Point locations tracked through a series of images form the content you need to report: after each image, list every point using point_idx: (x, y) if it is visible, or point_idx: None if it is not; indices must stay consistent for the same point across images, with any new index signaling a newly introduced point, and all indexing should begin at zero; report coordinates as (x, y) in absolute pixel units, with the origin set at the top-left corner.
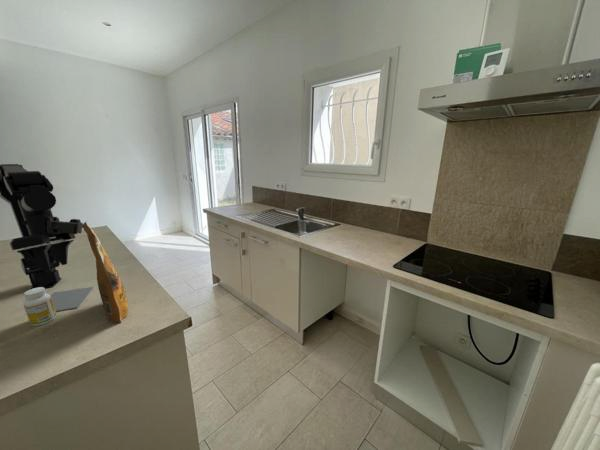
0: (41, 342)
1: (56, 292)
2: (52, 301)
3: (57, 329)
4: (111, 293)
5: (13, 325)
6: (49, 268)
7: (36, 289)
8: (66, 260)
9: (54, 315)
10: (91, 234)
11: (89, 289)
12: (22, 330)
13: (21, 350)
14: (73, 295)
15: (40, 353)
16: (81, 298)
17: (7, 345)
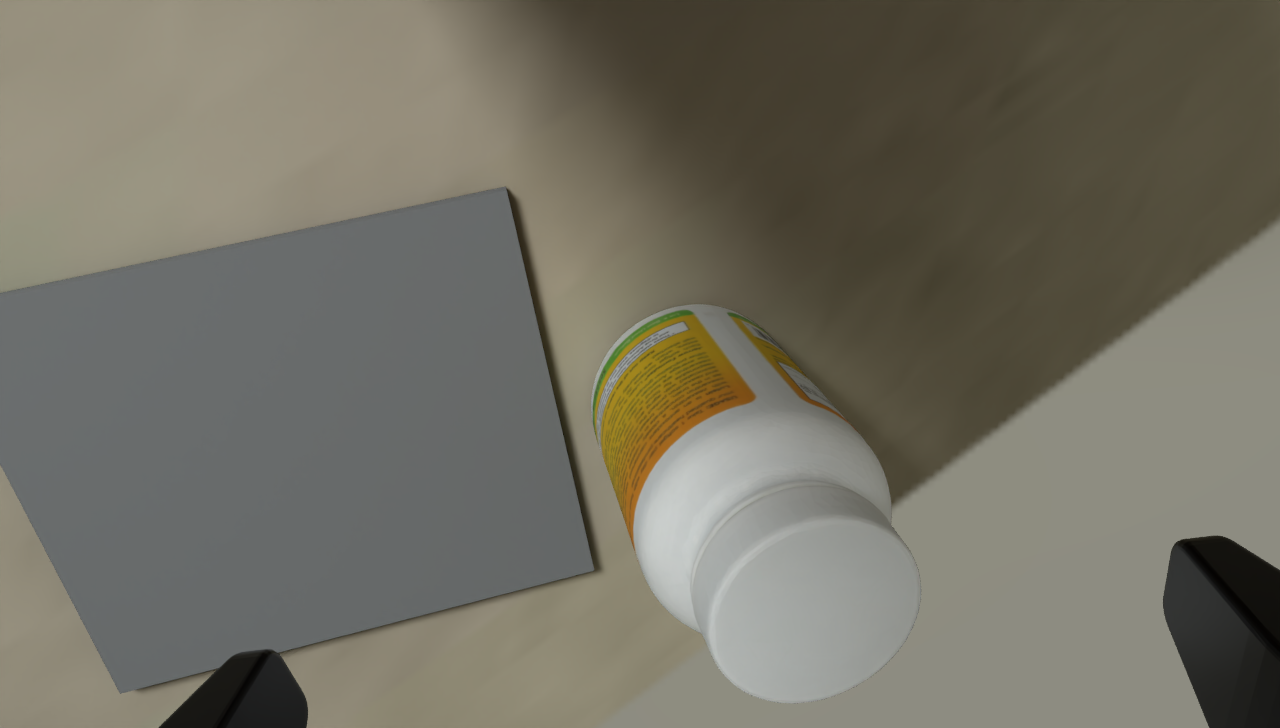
0: (1061, 158)
1: (117, 663)
2: (338, 558)
3: (894, 142)
4: None
5: None
6: (1244, 559)
7: (777, 621)
8: (204, 725)
9: (691, 312)
10: None
11: (15, 312)
12: None
13: (1113, 253)
14: (197, 421)
15: (1220, 56)
16: (285, 267)
17: (1003, 414)
